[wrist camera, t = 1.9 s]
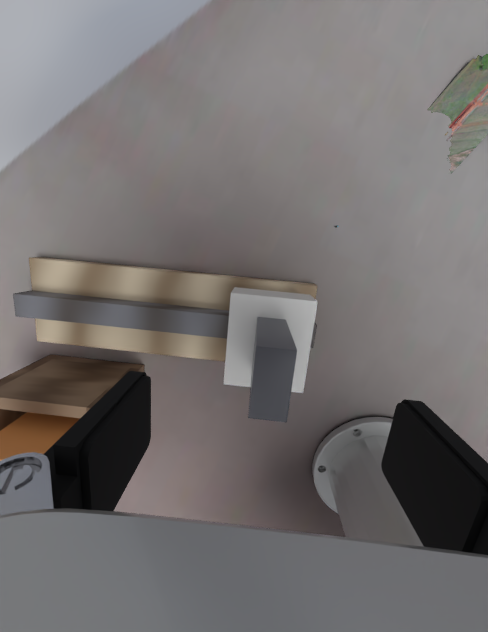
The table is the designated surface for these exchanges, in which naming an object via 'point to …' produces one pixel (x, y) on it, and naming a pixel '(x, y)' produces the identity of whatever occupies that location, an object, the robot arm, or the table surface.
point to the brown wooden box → (59, 386)
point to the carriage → (269, 347)
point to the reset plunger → (33, 433)
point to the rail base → (143, 291)
